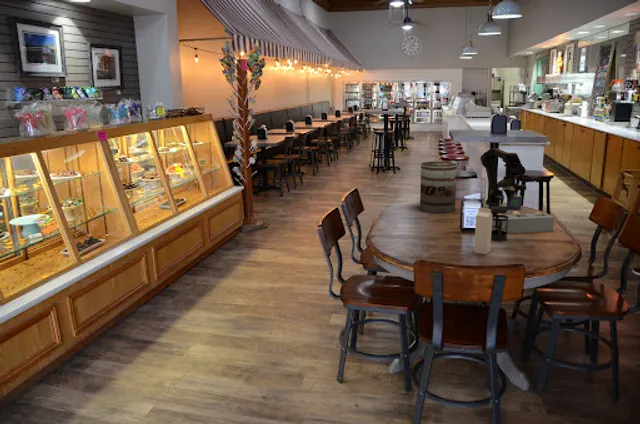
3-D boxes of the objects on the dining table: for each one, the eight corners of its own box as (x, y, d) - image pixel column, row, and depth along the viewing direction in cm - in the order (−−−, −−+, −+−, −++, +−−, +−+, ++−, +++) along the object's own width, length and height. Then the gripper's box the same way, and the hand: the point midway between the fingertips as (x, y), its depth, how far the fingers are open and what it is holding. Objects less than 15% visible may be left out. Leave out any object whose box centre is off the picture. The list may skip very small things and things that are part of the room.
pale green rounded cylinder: (533, 217, 292) (533, 211, 291) (539, 217, 293) (539, 211, 292) (537, 220, 288) (538, 213, 287) (543, 219, 288) (544, 213, 287)
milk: (478, 249, 257) (480, 206, 252) (490, 251, 254) (493, 207, 248) (473, 252, 252) (476, 208, 247) (486, 254, 249) (488, 210, 244)
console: (490, 229, 290) (491, 215, 288) (544, 226, 293) (545, 213, 292) (497, 234, 282) (498, 219, 280) (553, 231, 285) (554, 217, 283)
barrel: (413, 210, 337) (414, 164, 329) (429, 203, 354) (431, 160, 346) (445, 215, 323) (447, 167, 316) (460, 208, 340) (462, 163, 333)
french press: (506, 236, 277) (509, 194, 272) (510, 241, 268) (513, 198, 263) (483, 235, 279) (486, 194, 274) (486, 240, 270) (489, 198, 265)
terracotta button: (496, 219, 290) (496, 213, 289) (502, 219, 291) (502, 213, 290) (499, 221, 286) (500, 215, 285) (505, 221, 286) (506, 215, 285)
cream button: (511, 217, 295) (512, 211, 294) (517, 216, 295) (518, 210, 294) (515, 219, 290) (516, 213, 289) (521, 218, 291) (522, 212, 290)
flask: (520, 208, 335) (521, 192, 333) (521, 210, 333) (522, 193, 330) (505, 209, 336) (506, 192, 333) (507, 210, 333) (508, 193, 330)
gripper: (488, 174, 305) (487, 200, 307) (514, 176, 289) (513, 203, 292) (501, 173, 311) (499, 199, 313) (527, 175, 295) (526, 202, 297)
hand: (509, 201), depth 304 cm, fingers closed
